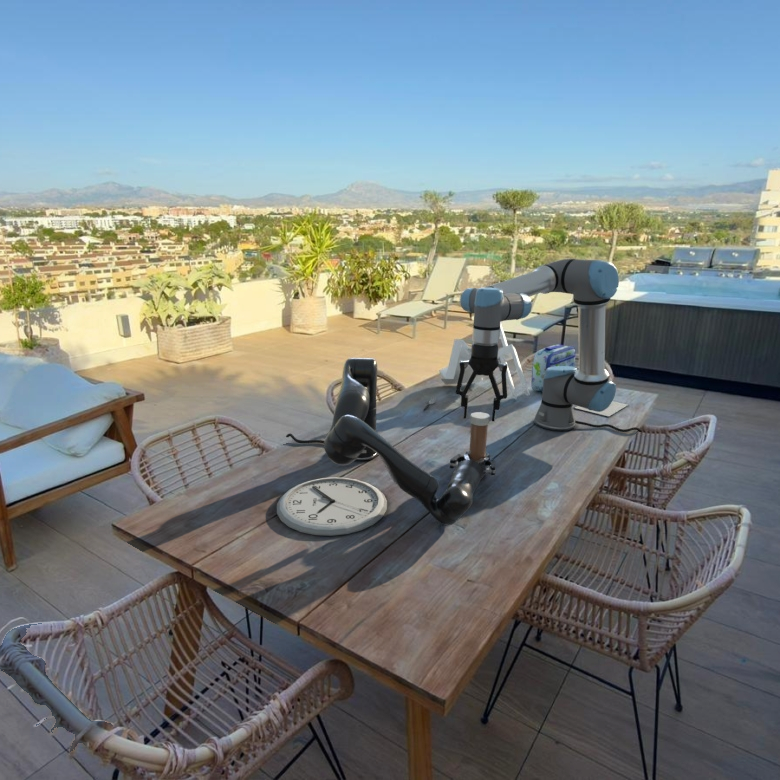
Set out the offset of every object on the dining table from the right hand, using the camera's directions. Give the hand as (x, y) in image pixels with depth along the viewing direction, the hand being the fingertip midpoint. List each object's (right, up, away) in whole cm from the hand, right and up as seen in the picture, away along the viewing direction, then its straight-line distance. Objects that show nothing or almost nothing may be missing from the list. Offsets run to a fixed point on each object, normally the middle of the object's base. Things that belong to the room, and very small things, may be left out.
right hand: (479, 418), depth 156 cm
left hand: (+1, -12, +6) cm, 13 cm away
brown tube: (0, -18, +6) cm, 19 cm away
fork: (-10, +1, +67) cm, 68 cm away
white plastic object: (+15, +7, +88) cm, 89 cm away
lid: (0, +1, 0) cm, 1 cm away
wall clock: (-42, -23, -13) cm, 50 cm away
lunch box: (+51, +9, +94) cm, 108 cm away
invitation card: (+65, +1, +71) cm, 96 cm away
